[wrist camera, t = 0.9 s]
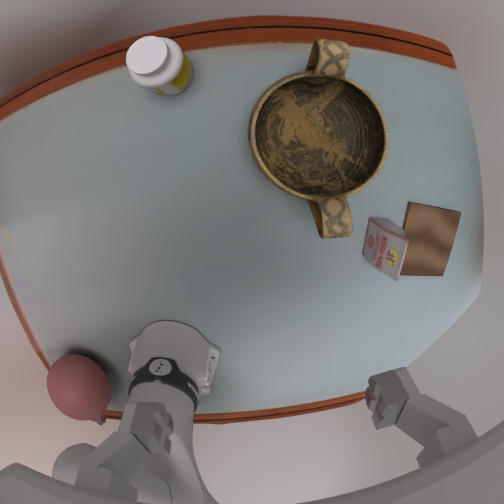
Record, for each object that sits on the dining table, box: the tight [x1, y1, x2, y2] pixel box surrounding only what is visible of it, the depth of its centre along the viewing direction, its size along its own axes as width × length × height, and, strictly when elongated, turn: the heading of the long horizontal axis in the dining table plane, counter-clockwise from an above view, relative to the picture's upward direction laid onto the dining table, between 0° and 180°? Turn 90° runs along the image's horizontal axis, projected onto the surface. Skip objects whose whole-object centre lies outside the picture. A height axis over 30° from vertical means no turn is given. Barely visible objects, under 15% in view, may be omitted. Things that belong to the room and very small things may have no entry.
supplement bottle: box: [126, 36, 194, 96], centre depth 28 cm, size 7×7×13 cm
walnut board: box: [400, 202, 461, 276], centre depth 47 cm, size 14×14×1 cm
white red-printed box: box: [362, 217, 409, 281], centre depth 42 cm, size 4×7×10 cm, turn 177°
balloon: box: [47, 354, 111, 425], centre depth 49 cm, size 15×20×15 cm
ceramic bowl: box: [248, 39, 388, 238], centre depth 32 cm, size 22×17×15 cm
